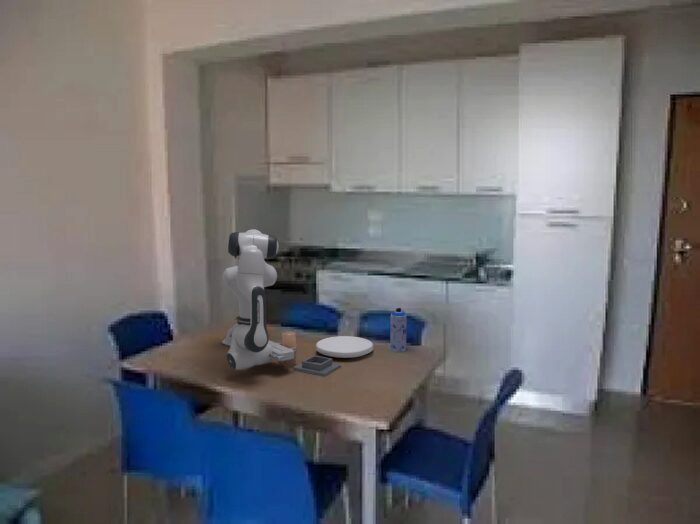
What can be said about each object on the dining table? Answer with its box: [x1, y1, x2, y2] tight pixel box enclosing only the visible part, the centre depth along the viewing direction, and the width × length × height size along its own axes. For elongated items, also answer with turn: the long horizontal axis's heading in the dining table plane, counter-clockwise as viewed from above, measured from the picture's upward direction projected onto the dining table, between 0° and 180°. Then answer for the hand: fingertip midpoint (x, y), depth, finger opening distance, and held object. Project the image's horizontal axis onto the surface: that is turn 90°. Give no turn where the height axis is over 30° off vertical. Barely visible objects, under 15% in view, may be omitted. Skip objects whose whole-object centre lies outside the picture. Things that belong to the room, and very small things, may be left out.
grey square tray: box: [292, 354, 342, 377], centre depth 255 cm, size 16×13×4 cm
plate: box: [315, 335, 374, 359], centre depth 277 cm, size 28×6×27 cm
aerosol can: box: [389, 307, 407, 353], centre depth 279 cm, size 8×8×20 cm
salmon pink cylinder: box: [281, 330, 297, 367], centre depth 260 cm, size 6×6×14 cm
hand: (290, 346), depth 261 cm, fingers closed on salmon pink cylinder, 6 cm apart
